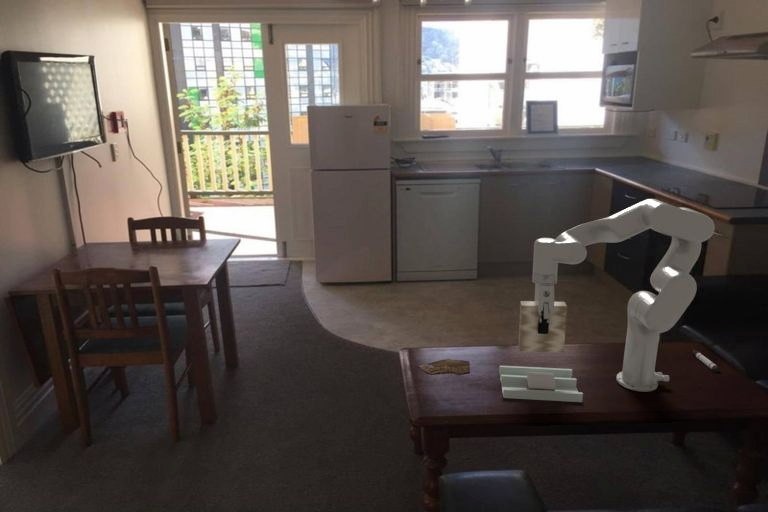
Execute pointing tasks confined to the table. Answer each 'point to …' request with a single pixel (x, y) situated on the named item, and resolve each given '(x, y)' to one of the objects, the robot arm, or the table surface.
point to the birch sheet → (529, 328)
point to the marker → (706, 361)
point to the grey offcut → (541, 380)
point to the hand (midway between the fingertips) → (541, 330)
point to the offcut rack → (516, 388)
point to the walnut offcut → (537, 388)
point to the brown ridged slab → (447, 366)
